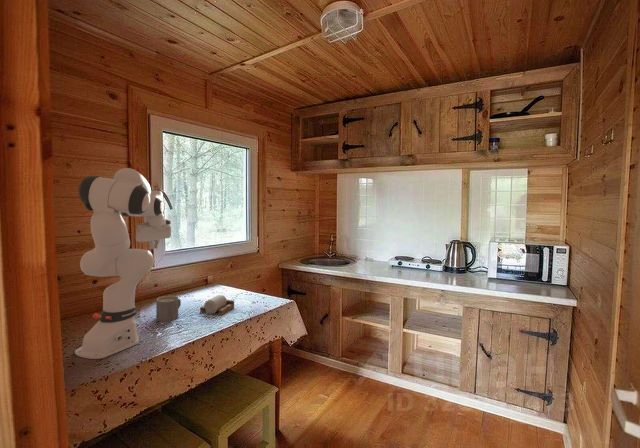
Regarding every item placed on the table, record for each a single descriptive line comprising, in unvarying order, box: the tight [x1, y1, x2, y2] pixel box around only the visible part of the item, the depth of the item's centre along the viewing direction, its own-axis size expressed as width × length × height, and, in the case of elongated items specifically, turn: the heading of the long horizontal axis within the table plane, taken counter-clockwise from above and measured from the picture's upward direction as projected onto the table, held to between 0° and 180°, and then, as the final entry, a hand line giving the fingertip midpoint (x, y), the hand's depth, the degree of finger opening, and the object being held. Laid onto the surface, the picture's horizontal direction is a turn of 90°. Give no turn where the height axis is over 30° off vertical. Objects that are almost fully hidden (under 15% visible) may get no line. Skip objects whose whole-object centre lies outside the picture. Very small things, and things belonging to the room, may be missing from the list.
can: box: [203, 294, 228, 315], centre depth 171 cm, size 8×8×12 cm
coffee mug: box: [155, 295, 182, 323], centre depth 160 cm, size 13×10×10 cm
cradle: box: [199, 299, 235, 316], centre depth 172 cm, size 12×13×4 cm
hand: (154, 248), depth 161 cm, fingers closed
